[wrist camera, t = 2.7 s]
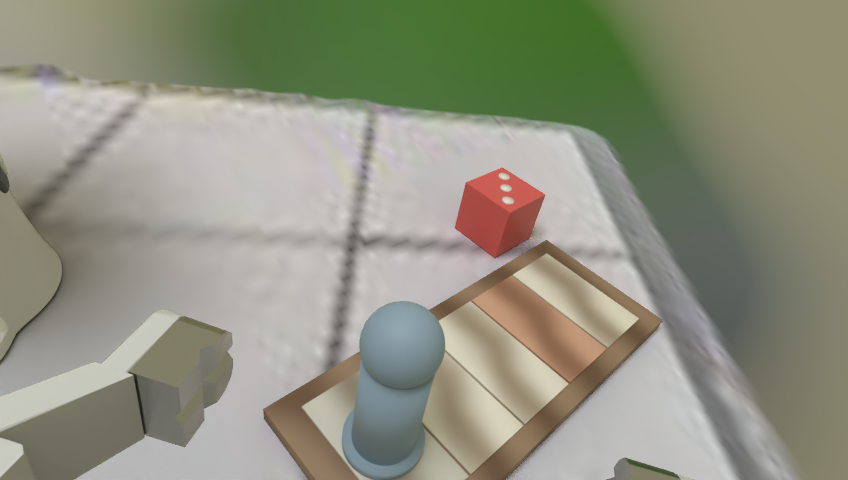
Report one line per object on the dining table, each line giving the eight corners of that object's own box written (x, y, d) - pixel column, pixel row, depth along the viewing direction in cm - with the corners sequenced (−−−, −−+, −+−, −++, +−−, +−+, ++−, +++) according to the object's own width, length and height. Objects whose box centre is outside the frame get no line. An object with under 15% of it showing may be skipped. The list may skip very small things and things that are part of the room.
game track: (390, 592, 30) (393, 584, 29) (264, 418, 37) (263, 407, 36) (657, 328, 50) (663, 318, 50) (543, 248, 57) (547, 238, 57)
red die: (494, 258, 55) (510, 211, 51) (454, 227, 58) (466, 181, 54) (529, 238, 58) (545, 193, 55) (489, 210, 61) (502, 166, 58)
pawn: (376, 499, 33) (403, 377, 25) (324, 433, 35) (334, 305, 27) (439, 446, 36) (481, 325, 28) (387, 390, 39) (412, 265, 31)
